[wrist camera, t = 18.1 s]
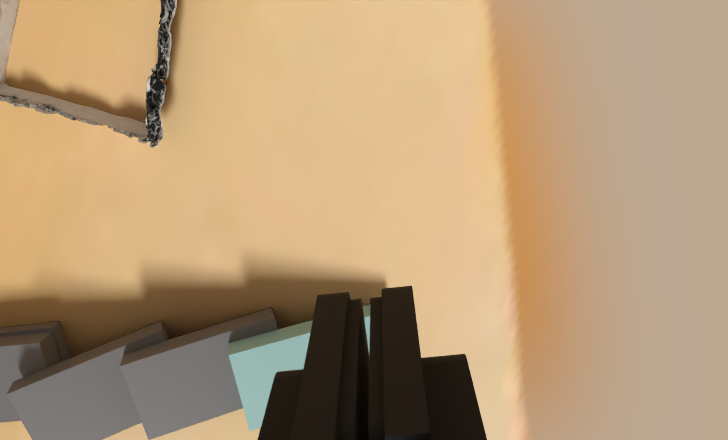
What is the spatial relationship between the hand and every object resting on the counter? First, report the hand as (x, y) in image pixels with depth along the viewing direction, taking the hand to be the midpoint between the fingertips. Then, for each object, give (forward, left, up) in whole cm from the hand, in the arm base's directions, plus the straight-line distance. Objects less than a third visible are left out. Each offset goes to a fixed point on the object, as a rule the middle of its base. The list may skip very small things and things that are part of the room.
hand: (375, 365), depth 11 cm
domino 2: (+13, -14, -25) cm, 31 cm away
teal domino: (+13, -1, -25) cm, 28 cm away
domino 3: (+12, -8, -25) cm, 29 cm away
